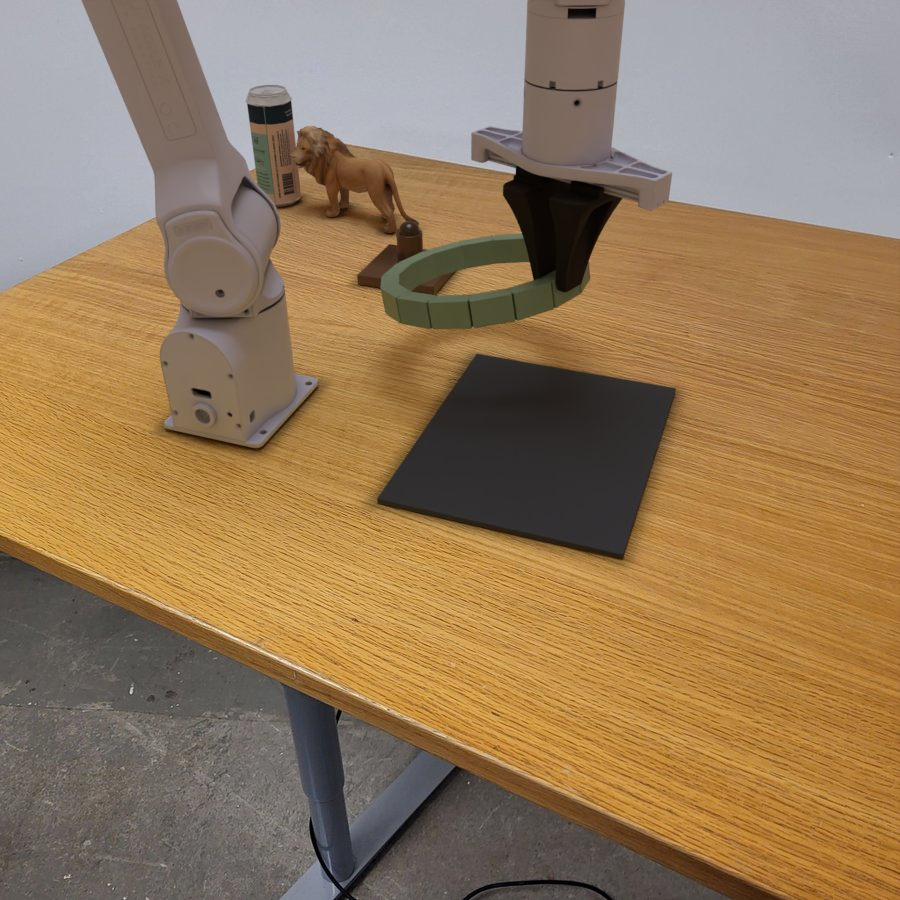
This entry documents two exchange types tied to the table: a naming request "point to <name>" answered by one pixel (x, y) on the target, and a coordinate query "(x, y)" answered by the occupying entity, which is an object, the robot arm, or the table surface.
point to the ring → (473, 306)
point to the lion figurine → (347, 173)
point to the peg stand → (393, 254)
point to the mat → (537, 454)
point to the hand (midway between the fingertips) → (557, 282)
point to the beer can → (274, 143)
